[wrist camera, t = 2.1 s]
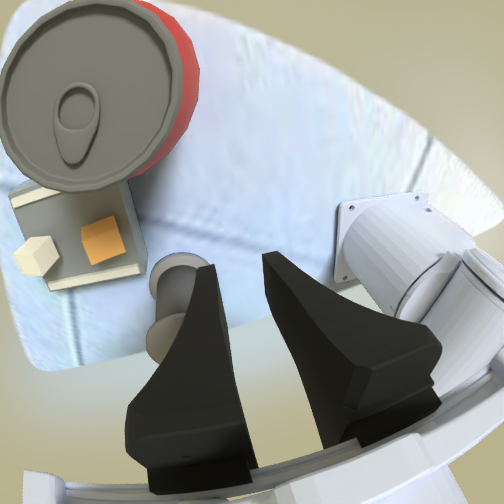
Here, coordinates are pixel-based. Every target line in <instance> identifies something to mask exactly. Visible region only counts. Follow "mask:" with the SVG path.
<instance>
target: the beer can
mask: <svg viewBox="0 0 504 504" xmlns="http://www.w3.org/2000/svg"><path fill="white" fill-rule="evenodd" d="M199 74H200V68H199V65H198V61H197V58H196V54H195V51H194V47H193V44H192V41H191V39H190V38H189V37H188V35H187V34H186V33H185V31H184V30H183V29H182V27H181V26H180V25H179V23H178V22H177V21H176V20H175V18H174V17H172V16H170V15H169V14H167V13H166V12H164V11H162V10H161V9H159V8H157V7H156V6H154V5H152V4H150V3H148V2H144V1H139V0H73V1H69V2H67V3H65V4H63V5H61V6H59V7H57V8H56V9H54V10H52V11H50V12H49V13H47V14H45V15H43V16H42V17H40V18H39V19H38V20H37V21H36V22H35V23H34V24H33V25H32V26H31V27H30V28H29V29H28V30H27V31H26V32H25V33H24V34H23V35H22V36H21V37H20V38H19V40H18V41H17V42H16V44H15V46H14V48H13V49H12V51H11V53H10V55H9V57H8V58H7V60H6V62H5V64H4V66H3V68H2V71H1V75H0V138H1V141H2V143H3V146H4V149H5V151H6V154H7V155H8V156H9V157H10V159H11V160H12V161H13V163H14V164H15V165H16V166H17V168H18V169H19V170H20V171H21V172H22V174H23V175H25V176H26V177H28V178H30V179H31V180H33V181H34V182H36V183H38V184H39V185H41V186H42V187H44V188H46V189H50V190H55V191H59V192H63V193H67V194H80V193H91V192H100V191H102V190H105V189H107V188H109V187H112V186H114V185H117V184H119V183H121V182H124V181H126V180H128V179H130V178H133V177H135V176H138V175H140V174H142V173H144V172H145V171H147V170H148V169H149V168H151V167H152V166H153V165H154V164H156V163H157V162H158V161H160V160H161V159H162V158H164V157H165V156H166V155H168V154H169V152H170V151H171V150H172V148H173V147H174V146H175V144H176V143H177V142H178V140H179V139H180V138H181V136H182V135H183V134H184V132H185V131H186V130H187V128H188V125H189V122H190V120H191V117H192V114H193V112H194V109H195V106H196V104H197V101H198V91H199Z"/></svg>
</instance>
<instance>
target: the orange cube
mask: <svg viewBox="0 0 504 504" xmlns="http://www.w3.org/2000/svg"><path fill="white" fill-rule="evenodd" d="M81 237H82V243H83V246H84V248H85V251H86V253H87V256H88V258H89V260H90V263H91V265H94V264H96V263H99V262H101V261H104V260H106V259H109V258H111V257H114V256H117V255H119V254H122V253H124V252H126V251H125V248H124V245H123V242H122V239H121V236H120V233H119V230H118V227H117V224H116V221H115V218H114V215H113V216H110V217H107V218H105V219H102V220H99V221H97V222H94V223H92V224H89V225H86V226H84V227H81Z"/></svg>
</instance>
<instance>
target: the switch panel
mask: <svg viewBox="0 0 504 504" xmlns="http://www.w3.org/2000/svg"><path fill="white" fill-rule="evenodd" d="M8 197H9V200H10V203H11V206H12V208H13V211H14V214H15V216H16V219H17V221H18V224H19V226H20V229H21V231H22V233H23V236H24V238H25V240H26V241H27V240H28V239H29V238H30V237H40V236H51V238H52V241H53V243H54V245H55V248H56V250H57V252H58V255H59V258H58V259H57V260H56V261H55V263H54V264H53V265H52V266H51V267H50V268H49V270H48V271H47V272H46V273H45V274H44V275H43V278H44V280H45V282H46V284H47V286H48V288H49V290H50V292H53V291H58V290H63V289H68V288H73V287H78V286H83V285H89V284H94V283H99V282H104V281H109V280H114V279H119V278H124V277H129V276H135V275H140V274H145V273H146V267H147V259H148V252H147V248H146V245H145V242H144V239H143V235H142V232H141V229H140V225H139V222H138V218H137V215H136V211H135V208H134V204H133V200H132V196H131V193H130V189H129V185H128V181H127V180H126V181H124V182H121V183H119V184H117V185H114V186H112V187H109V188H107V189H105V190H102V191H100V192H91V193H80V194H67V193H63V192H59V191H55V190H50V189H46V188H44V187H42V186H41V185H39V184H38V183H36V182H34V181H33V180H31V179H30V180H27V181H25V182H23V183H22V184H20V185H19V186H18V187H17V188H16V189H14V190H13V191H12V192H11V193H10V194H9V195H8ZM113 215H114V218H115V221H116V224H117V227H118V230H119V233H120V236H121V239H122V242H123V245H124V248H125V251H126V252H124V253H122V254H119V255H117V256H114V257H111V258H109V259H106V260H104V261H101V262H99V263H96V264H94V265H91V263H90V260H89V258H88V256H87V253H86V251H85V248H84V246H83V243H82V237H81V227H84V226H86V225H89V224H92V223H94V222H97V221H99V220H102V219H105V218H107V217H110V216H113Z"/></svg>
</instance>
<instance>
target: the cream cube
mask: <svg viewBox="0 0 504 504" xmlns="http://www.w3.org/2000/svg"><path fill="white" fill-rule="evenodd" d="M13 256H14V258H15V260H16V262H17V264H18V266H19V268H20V270H21V272H22V274H23V275H34V276H43V275H44V274H45V273H46V272H47V271H48V270H49V268H50V267H51V266H52V265H53V264H54V263H55V261H56V260H57V259H58V258H59V255H58V252H57V250H56V248H55V245H54V243H53V241H52V238H51V236H40V237H30V238H29V239H28V240H27V241H26V242H25V243H24V244H23V245H22V246H21V247H20V248H19V249H18V250H17V251H16V252H15V253H14V254H13Z"/></svg>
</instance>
